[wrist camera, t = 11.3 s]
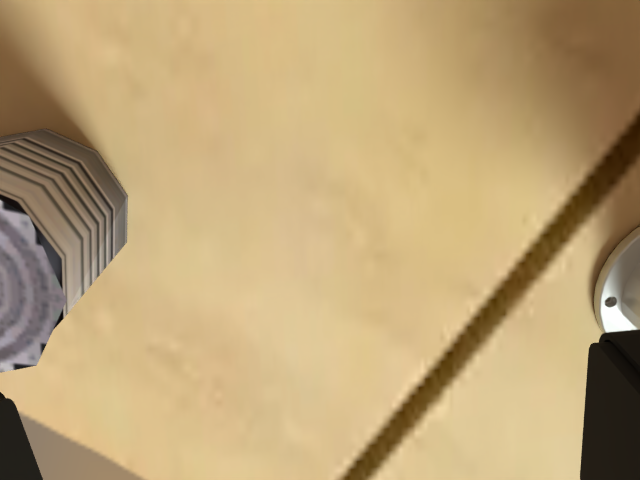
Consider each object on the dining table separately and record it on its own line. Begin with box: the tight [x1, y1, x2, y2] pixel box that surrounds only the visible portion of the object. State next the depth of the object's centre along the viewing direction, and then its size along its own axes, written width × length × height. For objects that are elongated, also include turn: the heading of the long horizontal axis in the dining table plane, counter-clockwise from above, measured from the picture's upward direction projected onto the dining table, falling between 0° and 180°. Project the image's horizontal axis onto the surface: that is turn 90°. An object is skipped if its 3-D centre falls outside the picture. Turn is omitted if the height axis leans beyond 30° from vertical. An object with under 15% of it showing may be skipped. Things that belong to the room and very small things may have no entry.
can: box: [0, 129, 128, 372], centre depth 34 cm, size 11×11×12 cm
